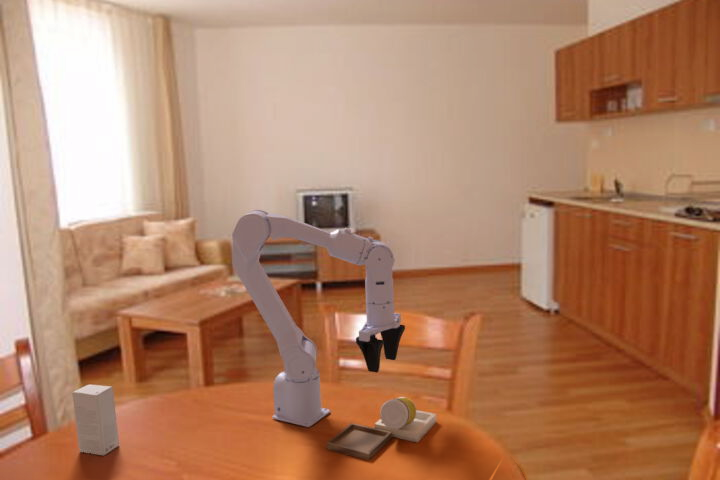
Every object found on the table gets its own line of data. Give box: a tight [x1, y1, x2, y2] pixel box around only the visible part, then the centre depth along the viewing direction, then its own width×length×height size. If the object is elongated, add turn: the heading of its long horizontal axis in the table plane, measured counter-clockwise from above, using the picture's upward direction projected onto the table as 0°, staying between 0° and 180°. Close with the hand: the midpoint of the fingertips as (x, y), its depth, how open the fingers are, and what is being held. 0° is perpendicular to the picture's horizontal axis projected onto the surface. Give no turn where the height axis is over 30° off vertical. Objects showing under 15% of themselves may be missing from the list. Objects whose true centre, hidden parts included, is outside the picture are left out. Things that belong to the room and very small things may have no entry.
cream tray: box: [374, 410, 437, 443], centre depth 111 cm, size 9×9×2 cm
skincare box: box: [72, 383, 120, 456], centre depth 107 cm, size 6×4×12 cm
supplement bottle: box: [379, 396, 417, 429], centre depth 109 cm, size 5×5×10 cm
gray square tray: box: [325, 422, 393, 461], centre depth 106 cm, size 9×9×1 cm
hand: (382, 365), depth 117 cm, fingers open, 7 cm apart
